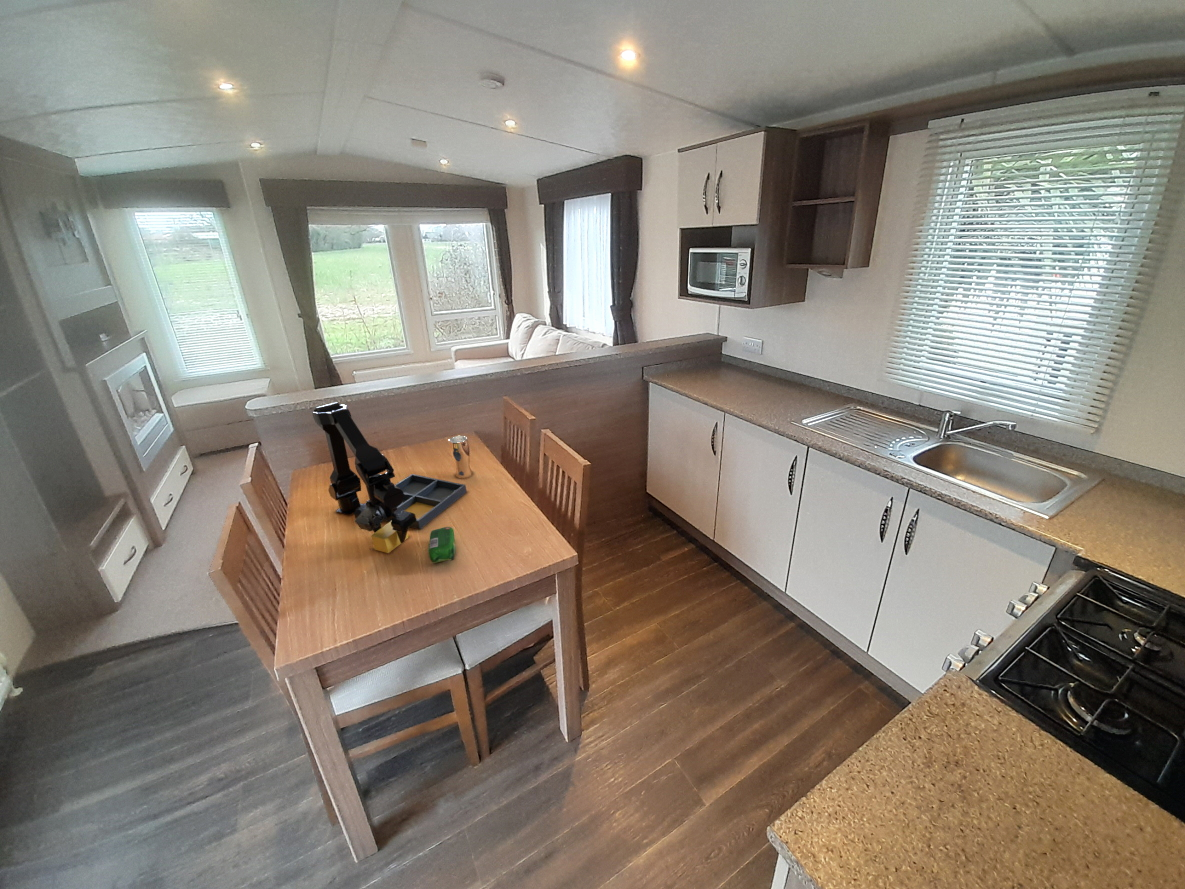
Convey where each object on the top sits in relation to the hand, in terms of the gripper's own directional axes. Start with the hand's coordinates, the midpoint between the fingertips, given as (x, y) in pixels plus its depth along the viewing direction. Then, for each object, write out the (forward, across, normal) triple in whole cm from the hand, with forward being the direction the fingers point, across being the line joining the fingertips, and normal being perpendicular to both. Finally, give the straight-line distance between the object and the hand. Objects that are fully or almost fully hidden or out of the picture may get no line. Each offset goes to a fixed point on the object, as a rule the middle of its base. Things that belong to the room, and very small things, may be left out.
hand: (390, 539), depth 144 cm
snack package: (+2, +18, +2) cm, 18 cm away
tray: (+1, -9, +21) cm, 23 cm away
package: (+1, 0, 0) cm, 1 cm away
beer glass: (+2, -6, +44) cm, 44 cm away
